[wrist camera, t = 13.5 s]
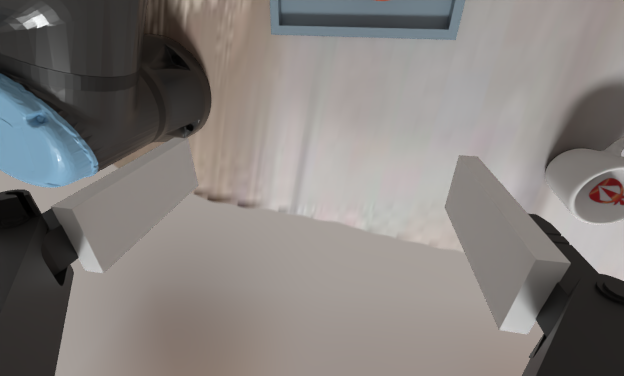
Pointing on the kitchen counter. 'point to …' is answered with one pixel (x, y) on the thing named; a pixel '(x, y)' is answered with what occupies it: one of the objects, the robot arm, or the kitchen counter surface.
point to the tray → (367, 18)
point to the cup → (590, 183)
